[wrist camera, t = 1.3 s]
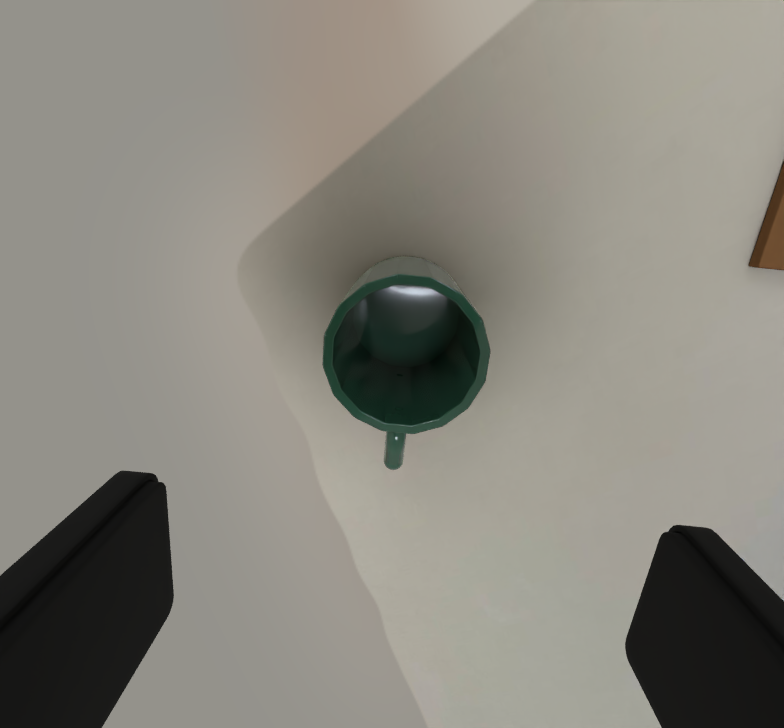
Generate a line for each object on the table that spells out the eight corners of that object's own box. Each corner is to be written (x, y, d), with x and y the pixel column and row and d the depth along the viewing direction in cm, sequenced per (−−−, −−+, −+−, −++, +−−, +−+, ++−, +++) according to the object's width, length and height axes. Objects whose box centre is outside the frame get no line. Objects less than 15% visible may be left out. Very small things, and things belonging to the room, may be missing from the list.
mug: (351, 250, 27) (327, 266, 19) (471, 262, 27) (502, 283, 19) (341, 406, 30) (317, 480, 22) (449, 416, 30) (466, 495, 22)
